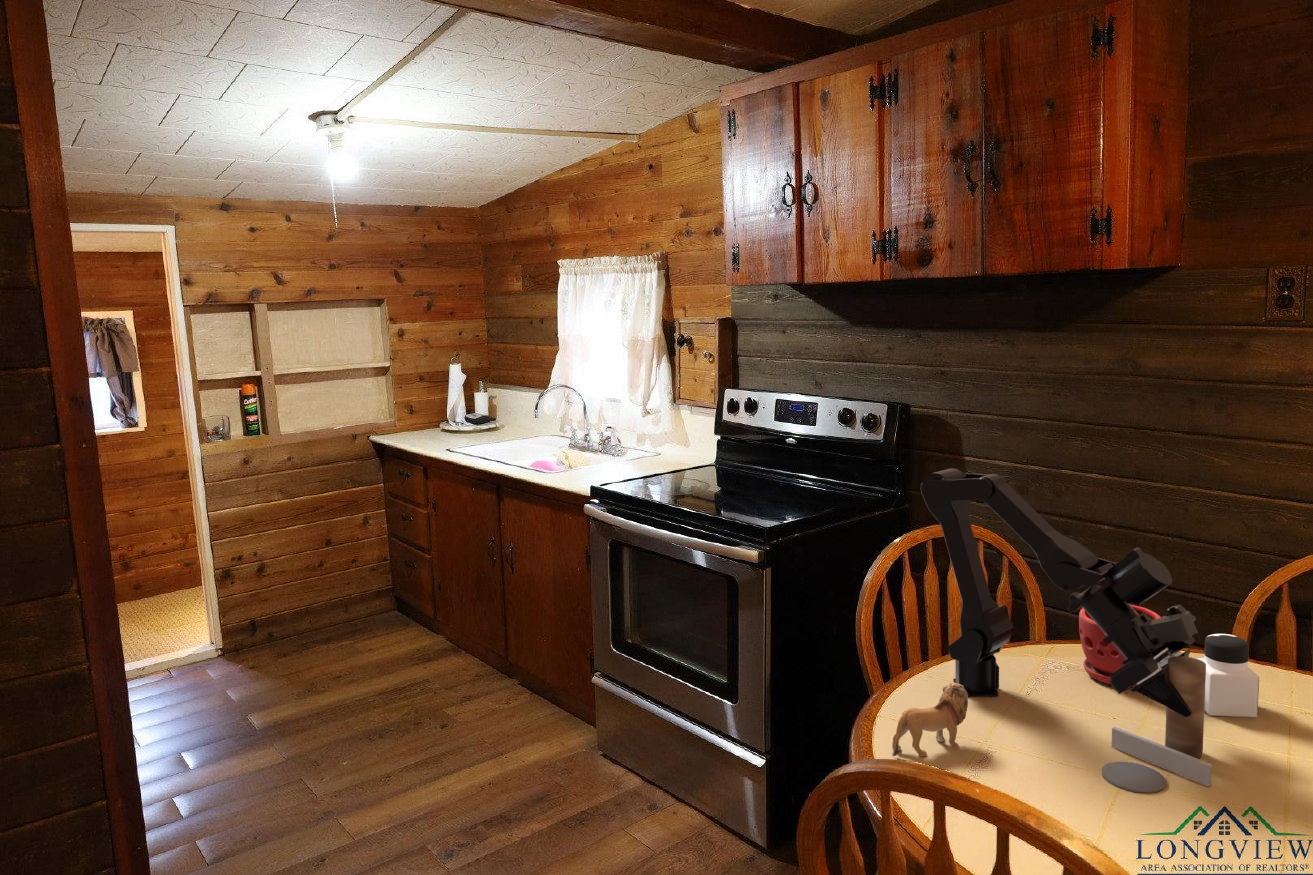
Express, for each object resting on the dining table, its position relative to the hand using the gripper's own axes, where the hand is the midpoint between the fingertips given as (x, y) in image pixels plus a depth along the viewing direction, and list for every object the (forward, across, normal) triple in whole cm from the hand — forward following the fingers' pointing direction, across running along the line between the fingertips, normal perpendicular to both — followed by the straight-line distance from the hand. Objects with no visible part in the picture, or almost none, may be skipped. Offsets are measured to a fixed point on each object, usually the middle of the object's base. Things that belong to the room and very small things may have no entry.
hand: (1195, 709), depth 129 cm
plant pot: (-8, +22, +19) cm, 30 cm away
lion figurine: (-15, -24, +26) cm, 38 cm away
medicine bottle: (+4, +21, +7) cm, 22 cm away
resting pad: (+2, -13, +8) cm, 15 cm away
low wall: (+3, -6, +7) cm, 10 cm away
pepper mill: (+4, 0, +6) cm, 7 cm away
